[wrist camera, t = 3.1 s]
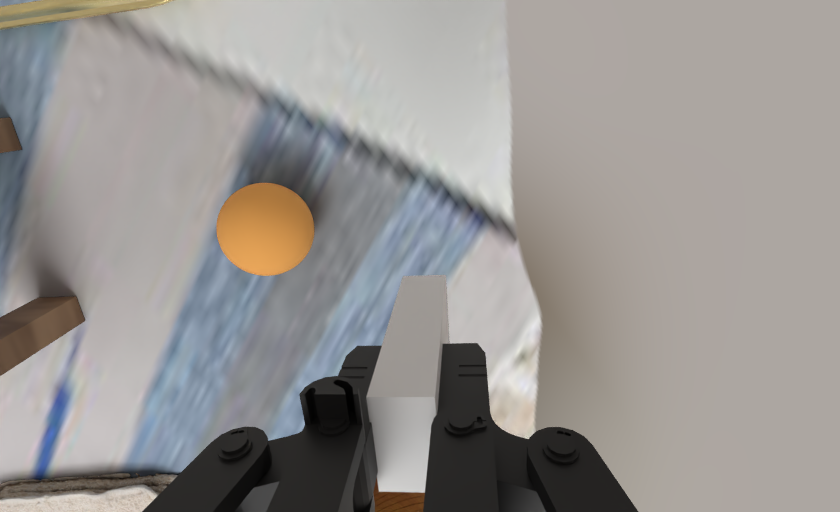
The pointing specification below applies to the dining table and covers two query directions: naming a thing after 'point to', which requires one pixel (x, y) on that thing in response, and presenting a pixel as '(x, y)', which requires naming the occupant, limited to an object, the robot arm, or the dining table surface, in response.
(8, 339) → the bridge
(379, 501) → the disposable coffee cup
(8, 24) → the oval ring
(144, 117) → the dining table surface
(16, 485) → the washcloth
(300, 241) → the ball
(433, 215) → the dining table surface
